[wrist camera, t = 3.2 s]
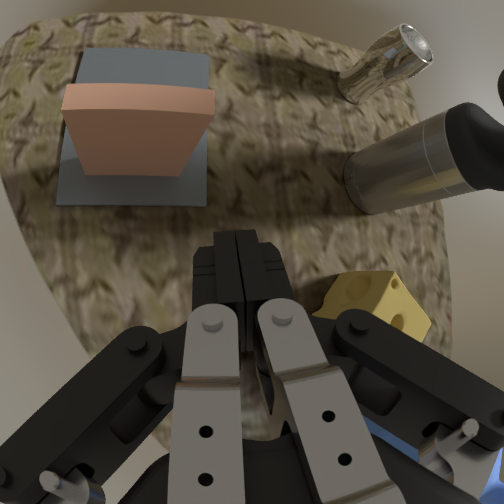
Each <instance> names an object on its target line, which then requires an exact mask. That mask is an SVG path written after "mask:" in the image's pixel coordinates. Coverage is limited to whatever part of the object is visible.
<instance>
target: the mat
mask: <svg viewBox="0 0 504 504" xmlns="http://www.w3.org/2000/svg"><path fill="white" fill-rule="evenodd" d="M209 58H210V55H205V54H198V53H189V52H180V51H169V50H156V49H138V48H85V50H84V53H83V57H82V60H81V64H80V67H79V71H78V75H77V78H76V82H75V84H81V83H130V84H153V85H168V86H180V87H191V88H200V89H208V83H209ZM102 205H125V206H191V207H206V206H207V129H206V130H205V132H204V134H203V135H202V137H201V139H200V141H199V142H198V144H197V146H196V148H195V149H194V151H193V153H192V155H191V156H190V158H189V160H188V162H187V164H186V165H185V167H184V169H183V171H182V173H181V175H180V176H179V177H177V176H145V175H85V173H84V170H83V168H82V165H81V163H80V160H79V158H78V155H77V153H76V150H75V147H74V145H73V142H72V139H71V137H70V134H69V131H68V128H67V125H66V128H65V134H64V140H63V146H62V152H61V160H60V167H59V176H58V185H57V196H56V206H102Z"/></svg>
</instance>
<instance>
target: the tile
mask: <svg viewBox="0 0 504 504" xmlns="http://www.w3.org/2000/svg"><path fill="white" fill-rule="evenodd" d="M61 111H62V114H63V117H64V120H65V123H66V125H67V128H68V131H69V134H70V137H71V139H72V142H73V145H74V147H75V150H76V153H77V155H78V158H79V160H80V163H81V165H82V168H83V170H84V173H85V175H145V176H177V177H179V176H180V175H181V173H182V171H183V169H184V167H185V165H186V164H187V162H188V160H189V158H190V156H191V155H192V153H193V151H194V149H195V148H196V146H197V144H198V142H199V141H200V139H201V137H202V135H203V134H204V132H205V130H206V129H207V127H208V125H209V124H210V122H211V120H212V119H213V117H214V115H215V90H209V89H200V88H191V87H180V86H168V85H153V84H130V83H81V84H67V88H66V92H65V96H64V100H63V104H62V109H61Z"/></svg>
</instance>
